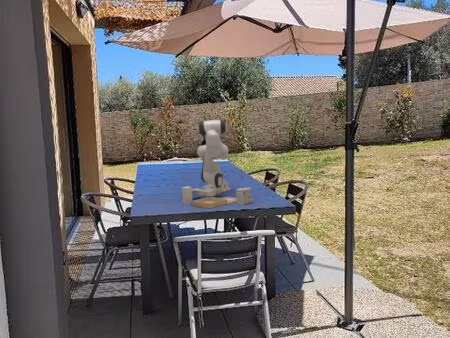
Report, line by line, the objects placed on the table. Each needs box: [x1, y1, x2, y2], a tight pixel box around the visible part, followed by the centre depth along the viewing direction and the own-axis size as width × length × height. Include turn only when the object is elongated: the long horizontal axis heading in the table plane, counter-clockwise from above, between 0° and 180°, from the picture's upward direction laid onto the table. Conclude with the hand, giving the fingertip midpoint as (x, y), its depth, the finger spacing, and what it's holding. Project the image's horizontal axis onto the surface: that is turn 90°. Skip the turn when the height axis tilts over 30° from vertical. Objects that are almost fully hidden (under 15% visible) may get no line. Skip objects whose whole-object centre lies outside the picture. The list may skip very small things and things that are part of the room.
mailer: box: [191, 196, 236, 210], centre depth 329 cm, size 37×18×4 cm, turn 137°
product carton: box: [181, 185, 193, 205], centre depth 330 cm, size 5×5×12 cm
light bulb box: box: [235, 186, 253, 206], centre depth 323 cm, size 11×7×11 cm, turn 141°
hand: (194, 193), depth 335 cm, fingers open, 8 cm apart
